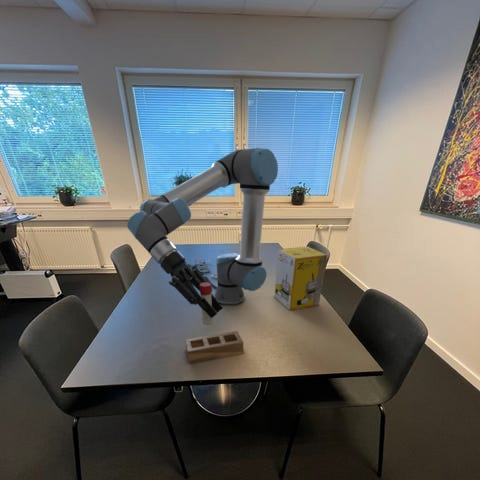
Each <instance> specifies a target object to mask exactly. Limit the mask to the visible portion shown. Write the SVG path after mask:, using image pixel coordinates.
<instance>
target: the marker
mask: <svg viewBox="0 0 480 480" xmlns="http://www.w3.org/2000/svg"><path fill="white" fill-rule="evenodd" d="M211 287H212V285H211V284H210V283H209V282H208V281H207V282H204V283H201V284H200V291H199V295H200V296H201V298H202V299H203V298H204V299H205V300H206V301H207V302H208V303H209V304H210V305H211V307H212V299H211V294H212V292H211ZM212 308H213V307H212ZM201 315H202V316H201V317H202V324H203V325H204V326H211V325H213V323H214V317H213V318H212V319H211V317H210V316H209V315H208V314H207V313H206V312H205V311H204V310H202V309H201Z"/></svg>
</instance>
